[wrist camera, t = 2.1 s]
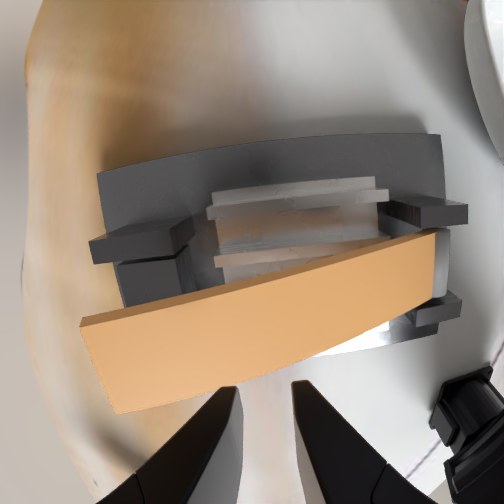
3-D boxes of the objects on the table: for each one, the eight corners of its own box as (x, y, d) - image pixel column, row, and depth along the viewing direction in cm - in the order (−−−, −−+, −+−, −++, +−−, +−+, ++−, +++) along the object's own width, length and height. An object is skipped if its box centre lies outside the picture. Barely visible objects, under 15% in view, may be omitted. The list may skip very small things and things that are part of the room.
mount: (429, 136, 17) (481, 128, 11) (428, 324, 20) (466, 365, 14) (107, 172, 18) (54, 176, 13) (149, 355, 22) (120, 403, 16)
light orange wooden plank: (432, 225, 14) (455, 229, 13) (430, 284, 15) (451, 291, 14) (84, 312, 9) (77, 333, 7) (116, 394, 10) (117, 421, 8)
